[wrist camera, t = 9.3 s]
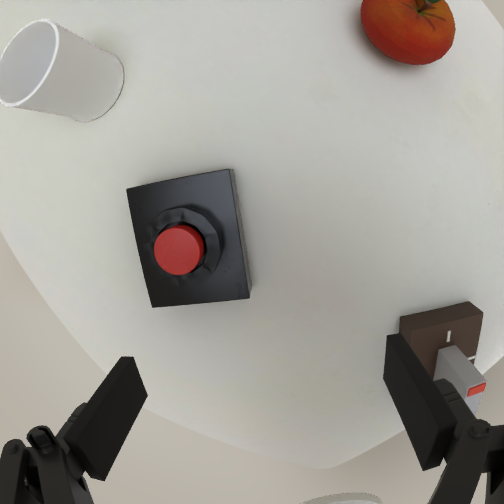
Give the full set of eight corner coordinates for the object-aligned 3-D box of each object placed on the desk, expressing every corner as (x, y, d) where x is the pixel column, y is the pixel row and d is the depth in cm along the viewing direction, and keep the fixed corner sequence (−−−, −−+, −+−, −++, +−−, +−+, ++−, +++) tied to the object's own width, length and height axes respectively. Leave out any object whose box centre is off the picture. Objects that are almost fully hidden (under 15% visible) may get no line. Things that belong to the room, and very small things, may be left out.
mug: (43, 135, 30) (-29, 132, 18) (45, 72, 28) (-21, 53, 16) (124, 112, 29) (57, 91, 17) (125, 43, 27) (67, 1, 15)
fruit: (346, 57, 26) (374, 15, 16) (357, -10, 24) (381, -59, 14) (428, 88, 26) (479, 65, 16) (434, 21, 24) (476, -14, 14)
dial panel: (456, 378, 34) (467, 393, 31) (393, 395, 35) (401, 413, 32) (469, 301, 32) (484, 312, 28) (399, 316, 32) (411, 331, 29)
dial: (448, 381, 31) (474, 420, 23) (431, 386, 31) (456, 427, 23) (455, 344, 29) (487, 381, 22) (438, 349, 29) (469, 388, 22)
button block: (252, 286, 33) (248, 306, 28) (161, 296, 34) (145, 315, 29) (233, 168, 30) (226, 168, 25) (139, 187, 31) (117, 190, 26)
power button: (208, 266, 28) (203, 272, 26) (165, 271, 28) (159, 277, 26) (199, 221, 27) (194, 224, 25) (156, 228, 27) (149, 232, 25)
